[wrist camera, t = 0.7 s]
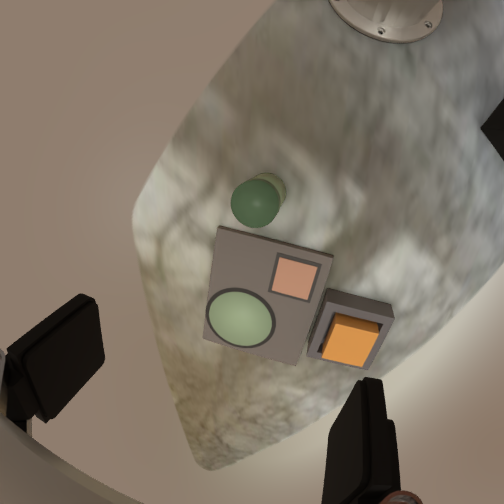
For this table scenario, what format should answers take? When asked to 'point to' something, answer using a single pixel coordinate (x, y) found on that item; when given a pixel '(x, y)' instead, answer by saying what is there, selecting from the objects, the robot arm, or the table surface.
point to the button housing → (351, 307)
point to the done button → (349, 339)
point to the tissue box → (496, 129)
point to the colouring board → (263, 294)
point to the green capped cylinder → (258, 200)
